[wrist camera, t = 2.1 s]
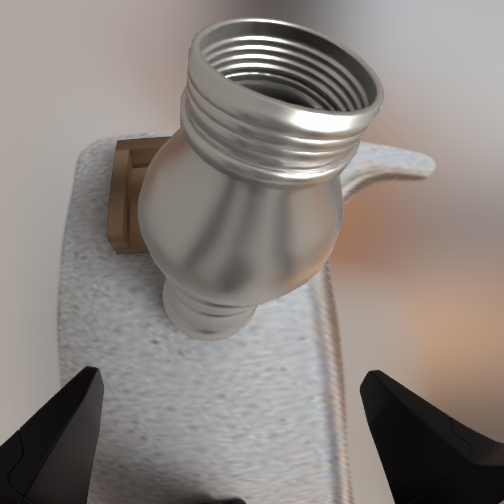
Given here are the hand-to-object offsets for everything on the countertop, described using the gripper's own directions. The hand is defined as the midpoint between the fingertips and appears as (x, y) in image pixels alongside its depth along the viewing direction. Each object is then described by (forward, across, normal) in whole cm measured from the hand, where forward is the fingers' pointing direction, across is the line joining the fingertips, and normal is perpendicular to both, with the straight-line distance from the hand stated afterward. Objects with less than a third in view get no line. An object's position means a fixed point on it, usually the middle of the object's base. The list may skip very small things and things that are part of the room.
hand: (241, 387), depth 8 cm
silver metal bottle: (+13, 0, +6) cm, 14 cm away
